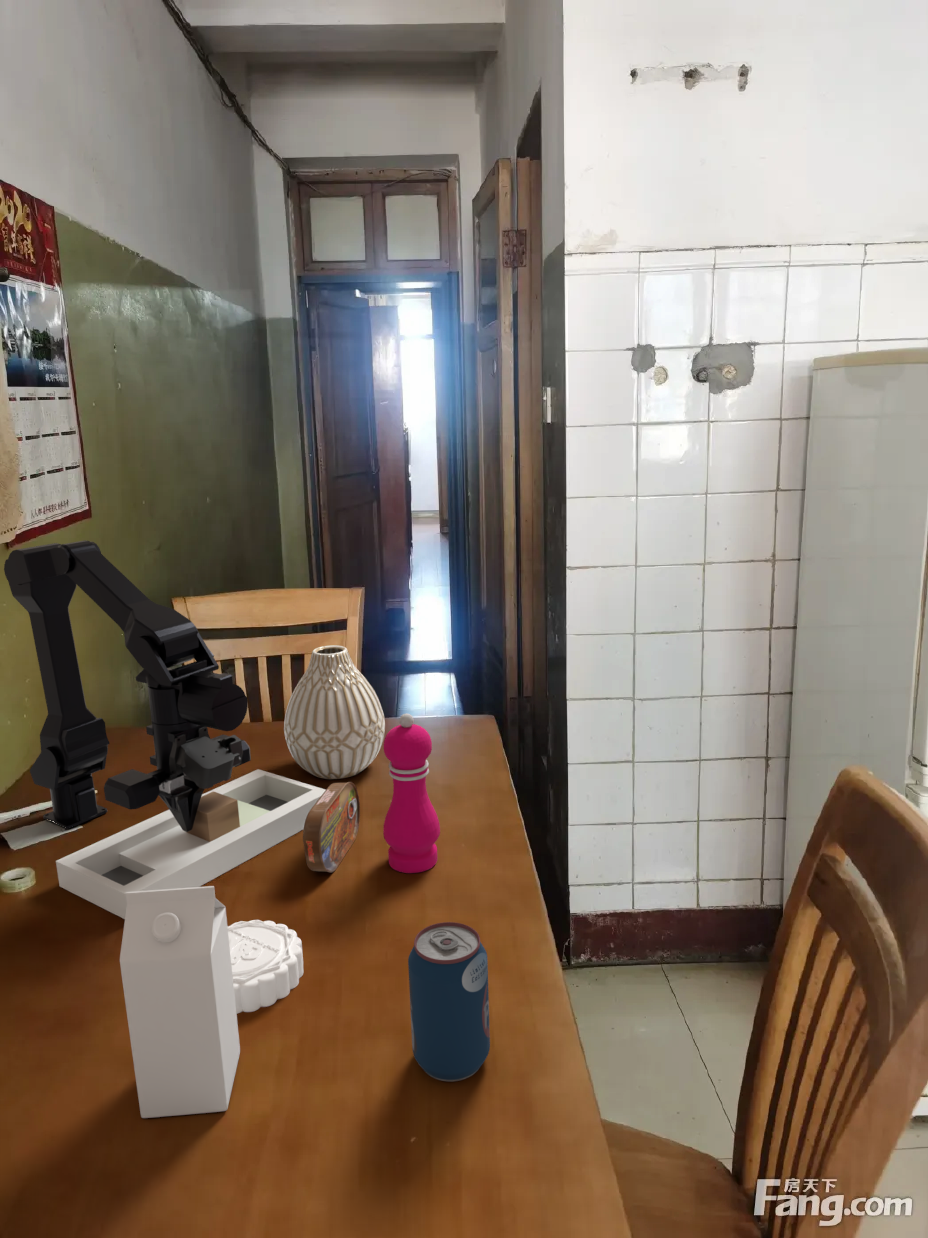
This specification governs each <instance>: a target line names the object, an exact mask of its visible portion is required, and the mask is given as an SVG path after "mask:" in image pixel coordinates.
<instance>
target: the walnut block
mask: <svg viewBox="0 0 928 1238" xmlns="http://www.w3.org/2000/svg"><path fill="white" fill-rule="evenodd" d="M239 827H240V821H239V811H238V801H237V800H236V799H233V798H231V797H228V796H225V795H222V794H219V793H217V792H214V791H213V792H211V793H209V794H206V795H204V796H202V797H201V799H200V802H199V806H198V809H197V813H196V817H195V821H194V824H193V828H192V830H191V831H189V832H187V833H189V834H191V835H194V836H196V837H199V838H201V839H204V840H206V841H209V842H211V841H213V840H215V839H217V838H219V837H221V836H223V835H225V834H227V833H229V832H231V831H233V830H235V829H237V828H239Z"/></svg>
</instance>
